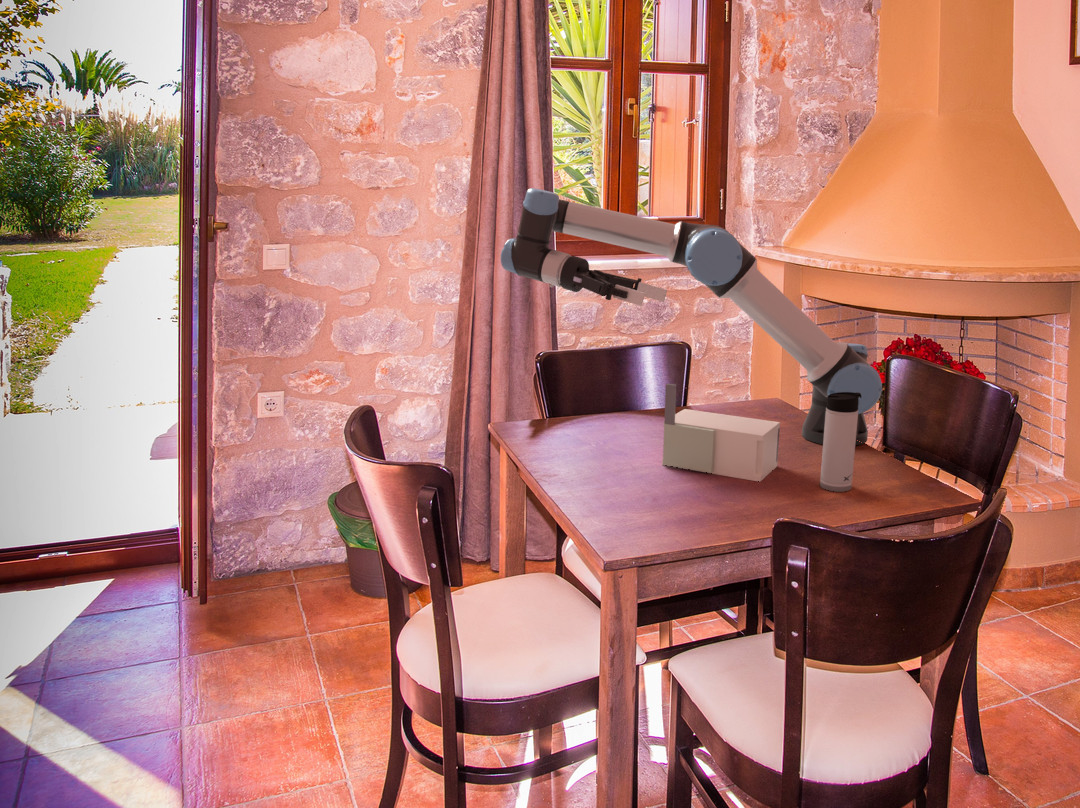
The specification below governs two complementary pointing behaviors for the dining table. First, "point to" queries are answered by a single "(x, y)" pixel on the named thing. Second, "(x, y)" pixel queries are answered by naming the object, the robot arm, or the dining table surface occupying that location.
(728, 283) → the robot arm
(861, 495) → the dining table surface
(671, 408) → the side door
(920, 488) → the dining table surface
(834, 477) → the travel mug
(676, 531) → the dining table surface
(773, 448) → the cream case
